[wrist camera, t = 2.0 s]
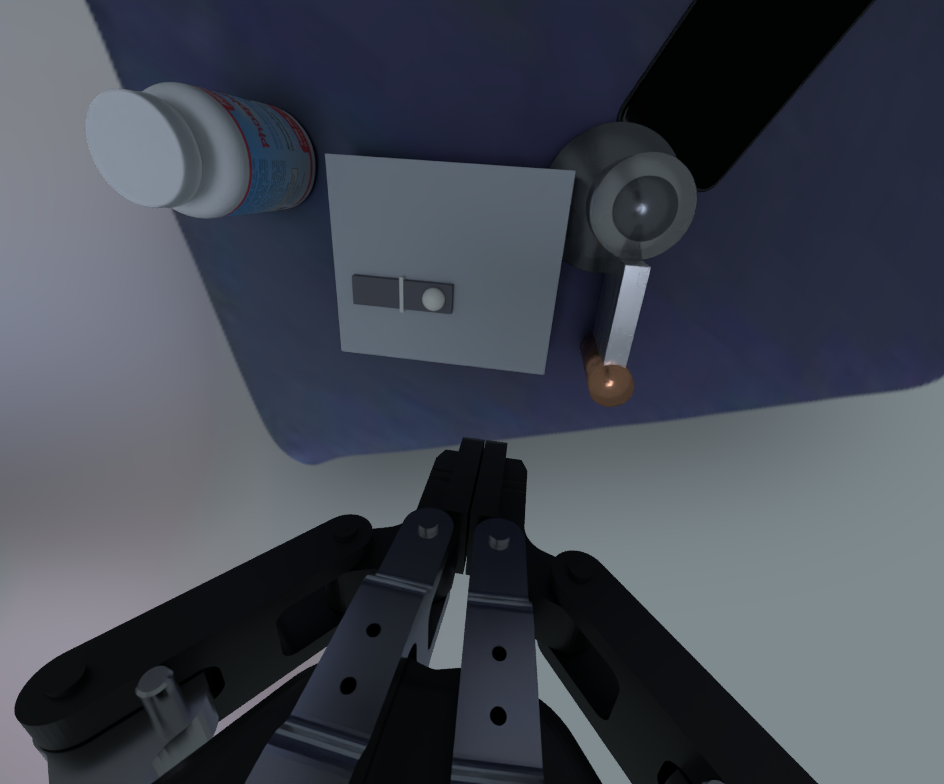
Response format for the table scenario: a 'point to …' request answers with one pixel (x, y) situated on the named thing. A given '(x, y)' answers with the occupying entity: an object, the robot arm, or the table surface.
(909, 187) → the table surface
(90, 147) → the pill bottle
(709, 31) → the smartphone
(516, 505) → the robot arm
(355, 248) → the slide switch panel
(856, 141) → the table surface
